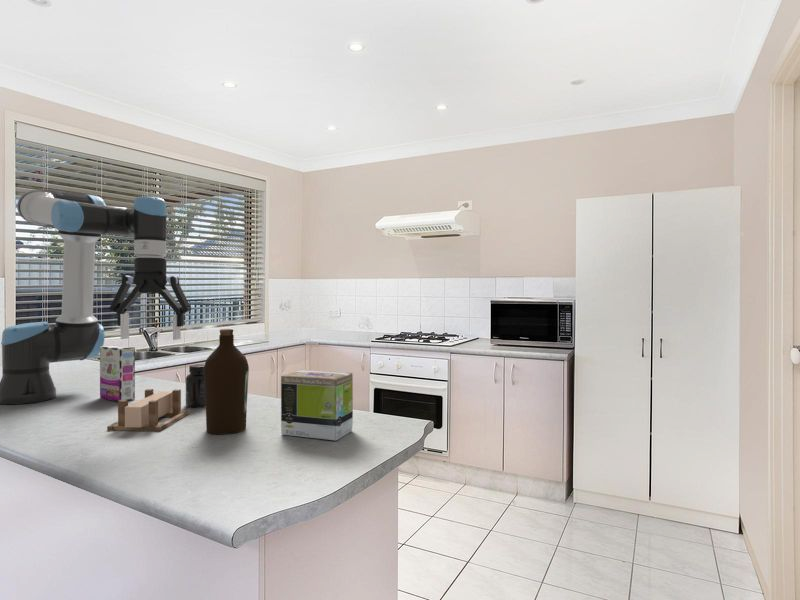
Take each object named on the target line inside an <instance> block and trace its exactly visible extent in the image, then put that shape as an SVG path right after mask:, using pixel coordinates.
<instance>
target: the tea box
mask: <svg viewBox="0 0 800 600" xmlns="http://www.w3.org/2000/svg"><path fill="white" fill-rule="evenodd" d="M280 377H281V378H280V413H281V414H280V422H281V423H280V428H281V429H280V431H281V432H280V433H281V435H284V436H292V437H302V438H311V439H320V440H327V441H328V440H329V441H334V442H335V441H338V440H340V439H341V438H344V436H346V435H348V434H349V433H351V432H352V431H353V424H354V423H353V422H354V421H353V419H354V418H353V415H354V414H353V412H354V410H353V409H354V408H353V407H354V406H353V405H354V403H353V400H354V398H353V397H354V396H353V393H354V391H353V390H354V389H353V385H354V383H353V381H354V380H353V378H354V377H353V373H352V372H341V371H340V372H339V371H323V370H321V371H320V370H308V369H307V370H306V369H305V370H304V369H300V370H297V371H294V372H290V373H287V374H283V375H280Z"/></svg>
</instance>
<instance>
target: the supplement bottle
mask: <svg viewBox="0 0 800 600" xmlns="http://www.w3.org/2000/svg"><path fill="white" fill-rule="evenodd" d="M204 365H205V363H204V364H203V363H198V364H190V365H189V366H188V367H189V368H188V369H189V370H188V372H189V374H188V375H186V377H185V406H186V407H187V408H190V407H191V409H197V407H201V408H205V407H204V406H206V402H205V384H204Z"/></svg>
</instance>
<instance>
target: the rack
mask: <svg viewBox="0 0 800 600" xmlns="http://www.w3.org/2000/svg"><path fill="white" fill-rule="evenodd" d="M171 392H172V411H170V412H168V413H166V414H165V415H163V416H161V417H160V418H162V417H163V418H164V417H166V418H167V417H168V418H170V419H167V420H166V421H164V422H159V418H158V400H151V401H149V423H148V424H147V425H145V426H143V427H141V428H139V427H125V407H126V406H128V405H129V401H128V400H120V401H117V421H116V422H114V423H112V424H110V425H108V426H107V427H106V428H107V429H106V430H107V431H110V432H111V431H154V432H155V431H156V432H162V431H164V430H166V429H167V428H169V427H170V426H172V425H174V424H175V423H177V422H178V421H180V420H182V419H183V418H185V417H187V416H188V415H190V414H191V410H190V409H184V410H182V401H181V400H182V393H181V392H182V389H181V388H179V389H176V388H175V389H173V390H172V391H171ZM153 394H154V388H147V389H145V390H144V398H146V397H148V396H150V395H153Z"/></svg>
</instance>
